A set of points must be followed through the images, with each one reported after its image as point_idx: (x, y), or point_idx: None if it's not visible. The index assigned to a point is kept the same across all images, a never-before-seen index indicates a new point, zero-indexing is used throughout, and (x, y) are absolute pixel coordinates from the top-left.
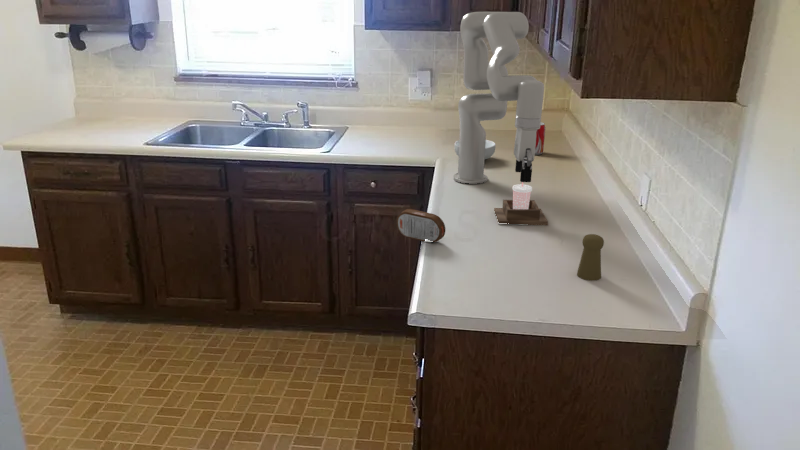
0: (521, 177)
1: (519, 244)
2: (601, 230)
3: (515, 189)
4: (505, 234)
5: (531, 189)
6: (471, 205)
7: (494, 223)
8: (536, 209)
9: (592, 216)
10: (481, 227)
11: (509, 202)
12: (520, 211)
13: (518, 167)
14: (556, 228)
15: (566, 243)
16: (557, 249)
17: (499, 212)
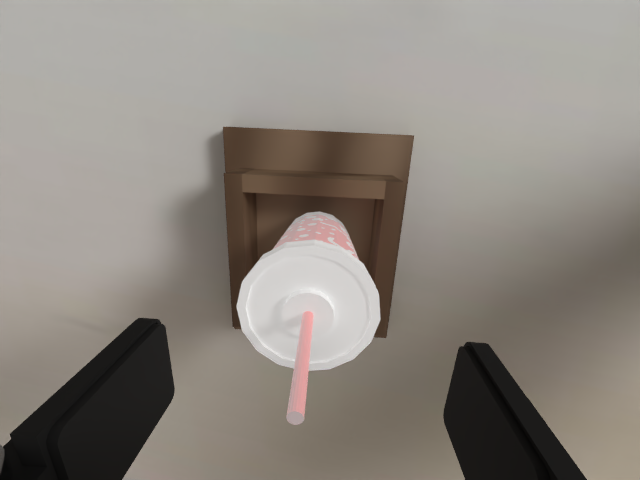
0: (111, 351)
1: (17, 174)
2: (210, 451)
3: (264, 256)
4: (113, 136)
5: (273, 357)
6: (522, 18)
7: (244, 108)
8: None
9: (333, 462)
10: (182, 28)
11: (380, 213)
12: (229, 239)
13: (476, 403)
14: (212, 340)
15: (76, 335)
16: (13, 296)
17: (343, 151)
